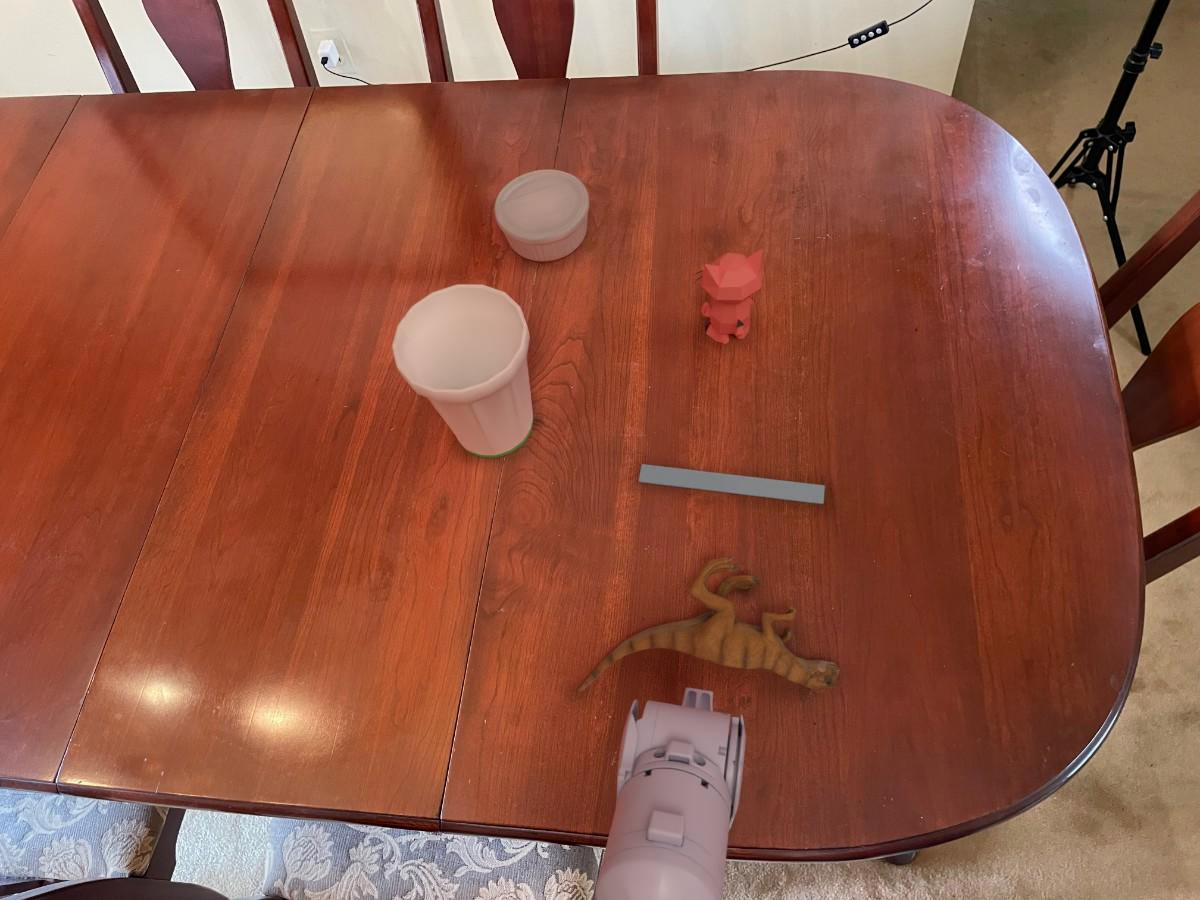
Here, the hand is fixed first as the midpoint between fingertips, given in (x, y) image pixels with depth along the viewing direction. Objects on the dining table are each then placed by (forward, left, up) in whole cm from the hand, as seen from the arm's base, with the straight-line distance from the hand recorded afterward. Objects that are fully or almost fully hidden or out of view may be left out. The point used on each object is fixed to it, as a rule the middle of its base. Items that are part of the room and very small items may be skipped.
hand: (687, 810), depth 66 cm
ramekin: (+66, +1, -4) cm, 67 cm away
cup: (+41, +11, -4) cm, 43 cm away
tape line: (+28, -11, -3) cm, 31 cm away
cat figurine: (+46, -16, -4) cm, 49 cm away
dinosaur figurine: (+13, -5, -4) cm, 15 cm away
